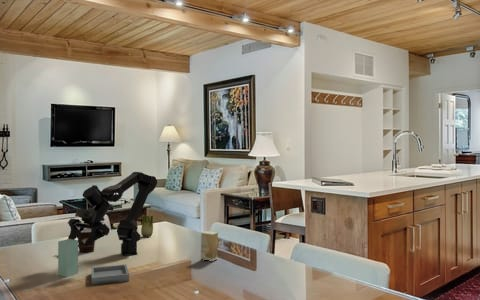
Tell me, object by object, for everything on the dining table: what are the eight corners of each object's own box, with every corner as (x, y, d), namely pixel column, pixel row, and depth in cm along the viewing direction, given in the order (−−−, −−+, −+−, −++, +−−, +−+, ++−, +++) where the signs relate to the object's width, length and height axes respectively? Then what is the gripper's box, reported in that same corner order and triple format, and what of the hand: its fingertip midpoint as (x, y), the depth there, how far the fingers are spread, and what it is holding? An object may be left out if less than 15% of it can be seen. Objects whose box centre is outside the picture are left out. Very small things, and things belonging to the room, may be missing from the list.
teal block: (69, 271, 159) (69, 238, 159) (77, 273, 157) (78, 240, 157) (58, 275, 154) (58, 241, 154) (67, 277, 152) (67, 243, 152)
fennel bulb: (153, 236, 222) (153, 214, 221) (149, 238, 217) (149, 216, 217) (144, 235, 223) (144, 214, 223) (139, 237, 218) (139, 215, 218)
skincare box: (200, 260, 176) (200, 232, 176) (205, 257, 180) (205, 230, 180) (212, 262, 173) (213, 234, 173) (218, 259, 177) (218, 232, 177)
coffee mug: (99, 249, 193) (99, 228, 193) (91, 254, 184) (91, 232, 184) (76, 248, 194) (76, 227, 194) (66, 253, 185) (67, 231, 185)
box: (126, 270, 161) (126, 264, 161) (129, 280, 148) (129, 274, 148) (91, 273, 156) (91, 267, 156) (91, 284, 144) (91, 278, 144)
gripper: (71, 199, 168) (48, 230, 158) (104, 202, 159) (81, 235, 150) (86, 215, 175) (64, 245, 165) (118, 219, 166) (97, 251, 157)
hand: (76, 244), depth 159 cm, fingers open, 9 cm apart
